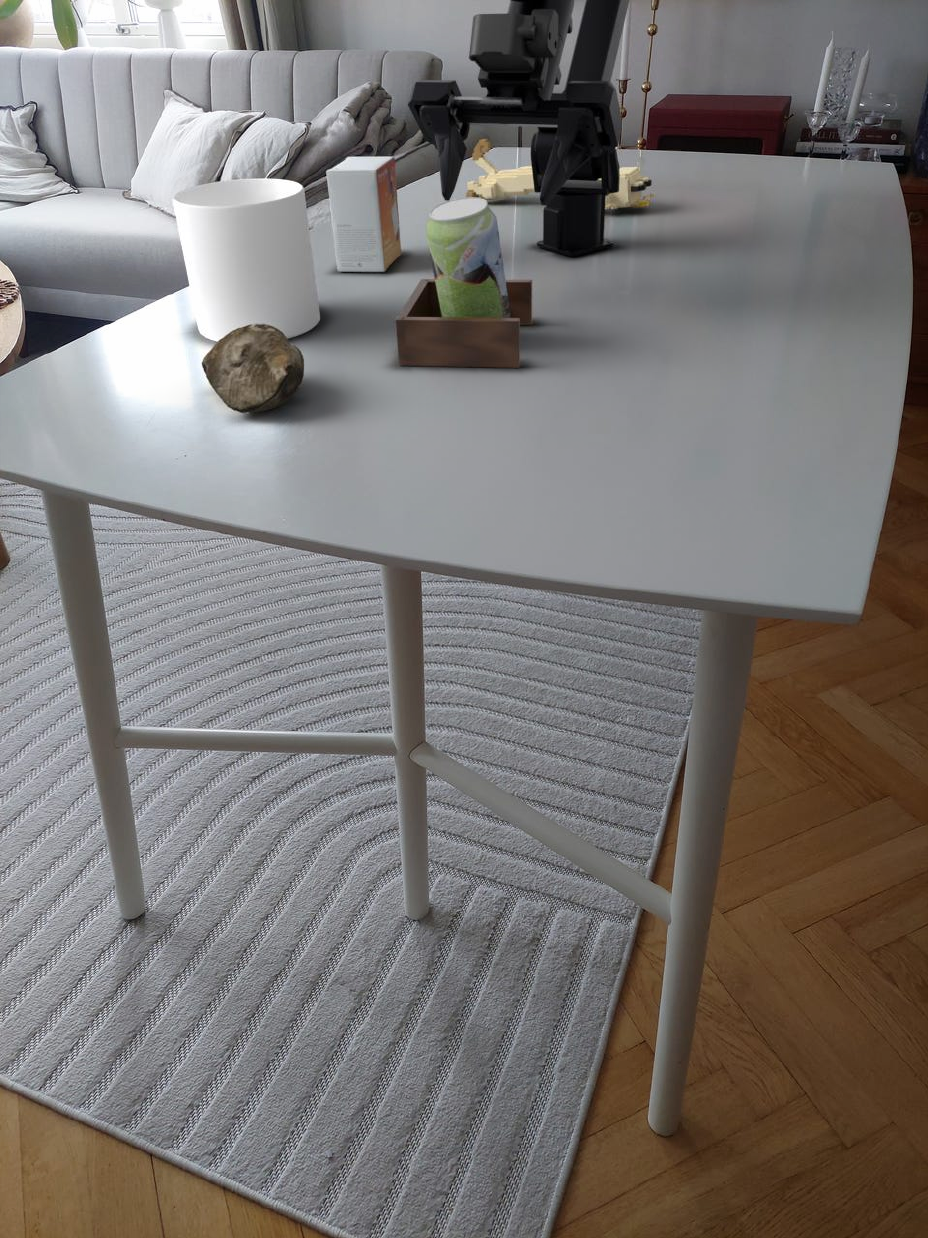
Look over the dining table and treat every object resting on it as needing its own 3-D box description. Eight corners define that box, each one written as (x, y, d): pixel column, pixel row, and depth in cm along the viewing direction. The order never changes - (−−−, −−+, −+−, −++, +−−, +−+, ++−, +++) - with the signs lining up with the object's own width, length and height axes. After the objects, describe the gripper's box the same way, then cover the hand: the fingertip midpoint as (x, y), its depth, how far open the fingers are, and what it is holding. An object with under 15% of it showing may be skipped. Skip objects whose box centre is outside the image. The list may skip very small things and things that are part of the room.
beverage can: (525, 338, 87) (525, 197, 80) (469, 362, 83) (463, 215, 76) (475, 324, 91) (470, 188, 84) (419, 346, 87) (409, 204, 80)
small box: (384, 273, 106) (376, 169, 100) (336, 272, 107) (324, 169, 101) (403, 253, 112) (396, 155, 106) (357, 252, 113) (347, 155, 107)
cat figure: (461, 217, 130) (640, 214, 120) (453, 147, 125) (639, 136, 115) (492, 201, 137) (663, 196, 127) (485, 133, 132) (663, 122, 122)
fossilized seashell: (314, 388, 73) (319, 362, 82) (257, 313, 70) (269, 296, 79) (237, 445, 74) (250, 414, 83) (178, 375, 72) (198, 350, 81)
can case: (532, 322, 91) (532, 279, 88) (519, 367, 81) (518, 320, 79) (423, 321, 92) (421, 278, 90) (399, 365, 83) (395, 319, 81)
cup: (217, 353, 87) (190, 213, 80) (185, 318, 96) (158, 189, 89) (338, 329, 91) (322, 194, 84) (297, 297, 100) (280, 172, 93)
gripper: (408, -27, 83) (363, 138, 81) (621, -34, 77) (578, 144, 75) (447, 66, 93) (409, 214, 91) (638, 66, 87) (600, 225, 85)
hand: (493, 200), depth 85 cm, fingers open, 9 cm apart
